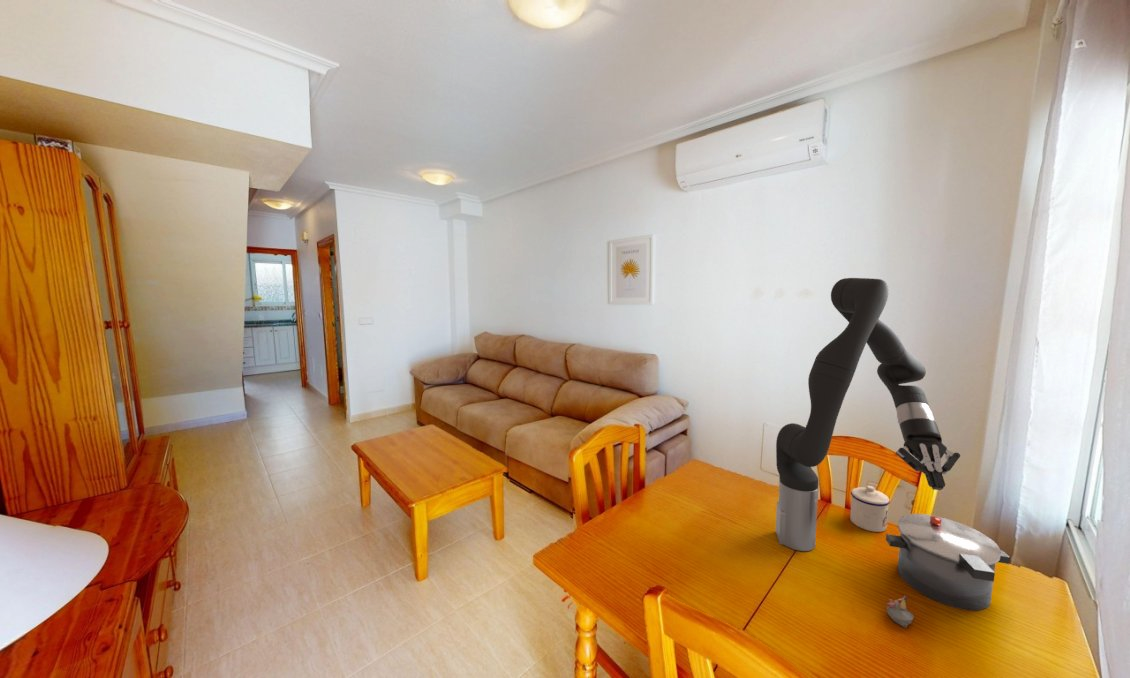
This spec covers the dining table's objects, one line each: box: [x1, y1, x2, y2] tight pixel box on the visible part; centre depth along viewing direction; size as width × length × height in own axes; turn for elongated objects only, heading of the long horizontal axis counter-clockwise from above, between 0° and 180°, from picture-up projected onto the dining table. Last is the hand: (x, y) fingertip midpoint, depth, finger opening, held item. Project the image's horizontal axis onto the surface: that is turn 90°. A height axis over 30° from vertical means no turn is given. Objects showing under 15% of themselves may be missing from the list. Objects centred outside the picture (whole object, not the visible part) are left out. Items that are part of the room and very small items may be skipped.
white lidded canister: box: [849, 485, 891, 533], centre depth 118 cm, size 12×9×12 cm
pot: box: [885, 533, 1011, 611], centre depth 94 cm, size 22×17×11 cm
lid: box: [897, 513, 1001, 583], centre depth 90 cm, size 22×17×3 cm
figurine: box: [886, 595, 915, 628], centre depth 84 cm, size 5×4×6 cm
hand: (938, 488), depth 95 cm, fingers closed
